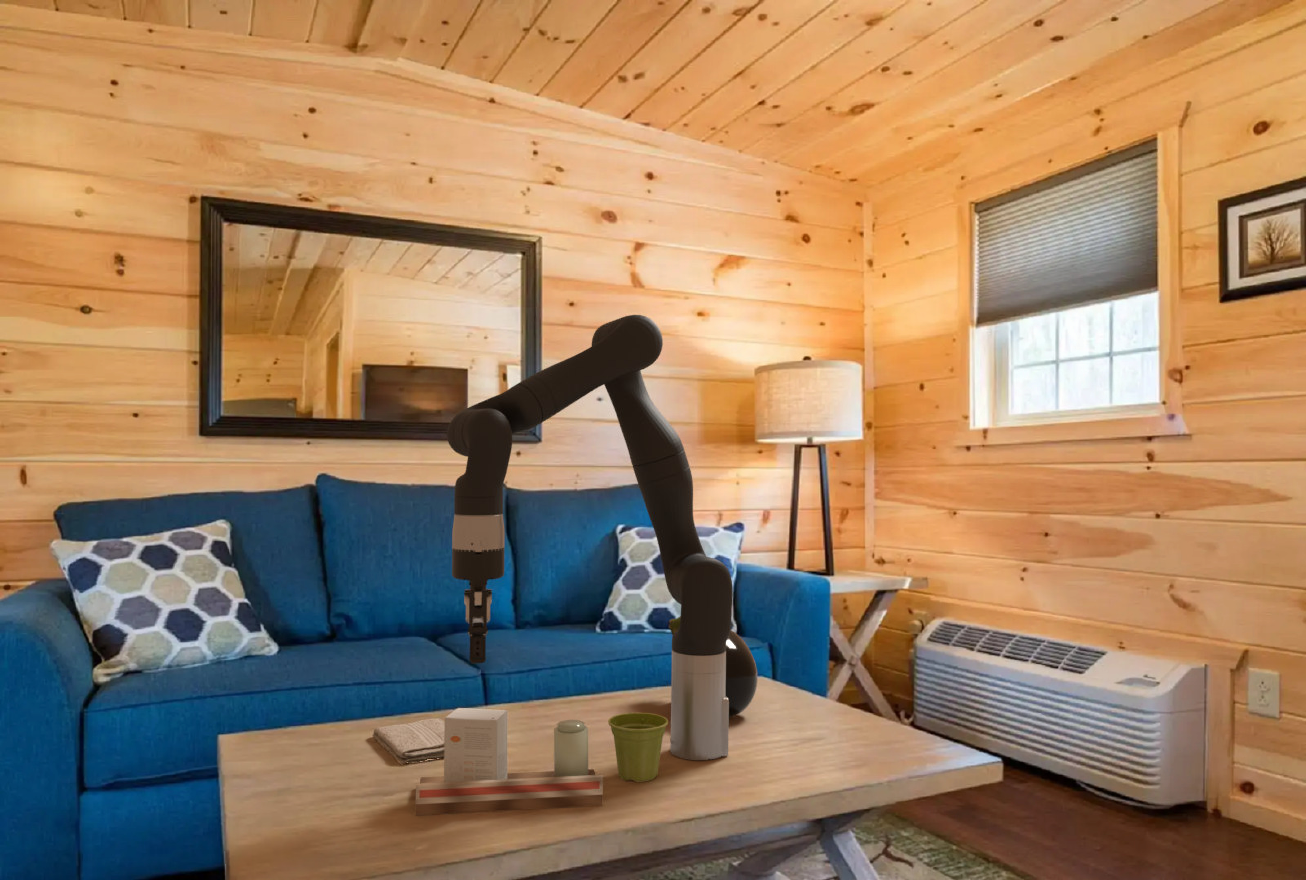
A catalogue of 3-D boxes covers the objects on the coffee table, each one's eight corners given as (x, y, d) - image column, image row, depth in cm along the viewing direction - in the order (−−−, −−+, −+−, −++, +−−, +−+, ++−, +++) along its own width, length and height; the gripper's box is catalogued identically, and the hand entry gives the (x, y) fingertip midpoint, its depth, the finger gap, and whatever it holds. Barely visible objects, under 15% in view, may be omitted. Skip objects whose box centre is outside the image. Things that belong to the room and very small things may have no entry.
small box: (508, 780, 138) (509, 709, 138) (496, 793, 132) (497, 719, 132) (456, 777, 139) (457, 706, 139) (442, 790, 133) (444, 716, 134)
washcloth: (401, 769, 148) (401, 749, 148) (369, 740, 163) (370, 722, 163) (472, 757, 155) (472, 738, 155) (435, 730, 170) (435, 713, 170)
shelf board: (593, 778, 143) (593, 752, 143) (602, 805, 132) (603, 777, 133) (420, 787, 139) (421, 760, 139) (415, 815, 128) (415, 786, 128)
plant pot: (623, 790, 139) (624, 731, 139) (597, 771, 147) (598, 716, 147) (678, 780, 143) (679, 724, 143) (650, 762, 151) (650, 709, 152)
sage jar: (584, 775, 140) (584, 717, 140) (591, 787, 135) (591, 726, 135) (551, 779, 138) (551, 720, 139) (557, 791, 134) (557, 730, 134)
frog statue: (690, 750, 175) (642, 682, 197) (763, 737, 181) (708, 673, 203) (699, 660, 170) (648, 601, 192) (774, 650, 176) (716, 594, 198)
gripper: (453, 541, 142) (452, 647, 142) (450, 550, 128) (449, 668, 128) (503, 540, 144) (502, 645, 143) (505, 549, 130) (504, 666, 129)
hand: (477, 656), depth 136 cm, fingers open, 8 cm apart
